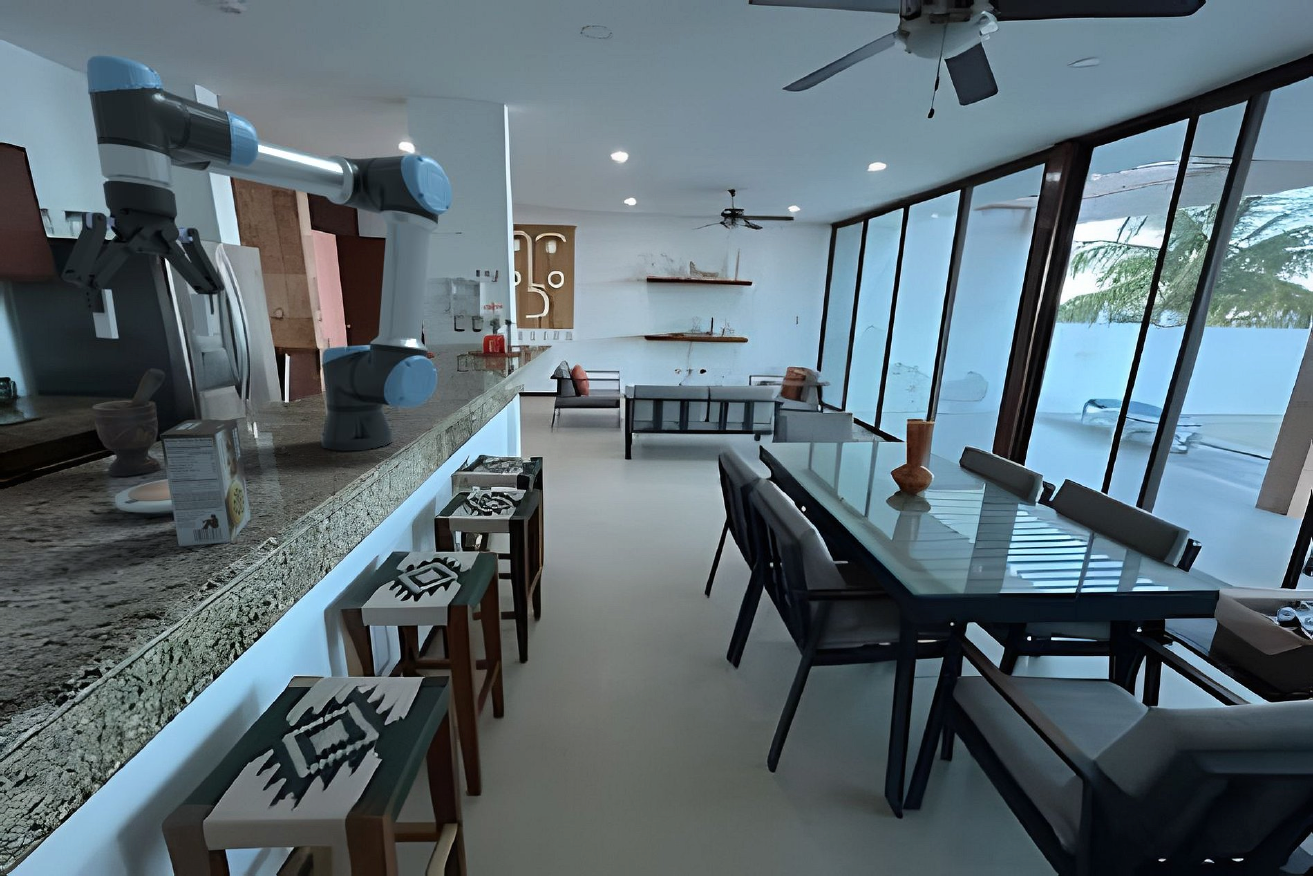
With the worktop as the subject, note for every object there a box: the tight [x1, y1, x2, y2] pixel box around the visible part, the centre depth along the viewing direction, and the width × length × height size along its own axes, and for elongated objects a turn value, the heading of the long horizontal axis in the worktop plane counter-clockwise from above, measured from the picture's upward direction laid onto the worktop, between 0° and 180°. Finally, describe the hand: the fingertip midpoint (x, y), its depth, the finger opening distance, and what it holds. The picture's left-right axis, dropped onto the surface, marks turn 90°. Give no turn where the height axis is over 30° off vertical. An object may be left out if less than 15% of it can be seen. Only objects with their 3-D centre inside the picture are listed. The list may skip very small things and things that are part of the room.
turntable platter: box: [114, 478, 173, 513], centre depth 90 cm, size 14×14×1 cm
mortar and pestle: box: [91, 367, 166, 477], centre depth 104 cm, size 12×9×20 cm
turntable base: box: [135, 510, 174, 519], centre depth 90 cm, size 10×10×2 cm
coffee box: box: [159, 418, 252, 547], centre depth 80 cm, size 9×6×16 cm
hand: (159, 336), depth 83 cm, fingers open, 13 cm apart
